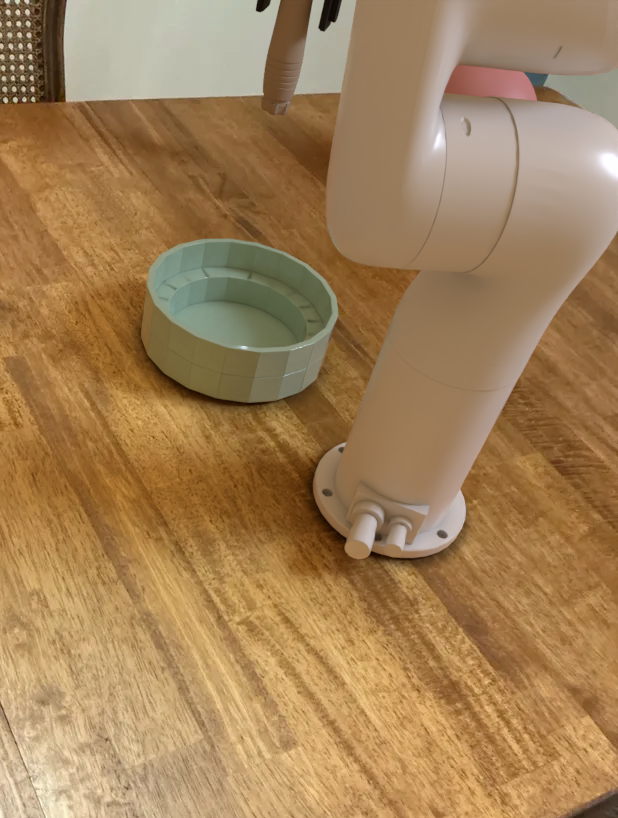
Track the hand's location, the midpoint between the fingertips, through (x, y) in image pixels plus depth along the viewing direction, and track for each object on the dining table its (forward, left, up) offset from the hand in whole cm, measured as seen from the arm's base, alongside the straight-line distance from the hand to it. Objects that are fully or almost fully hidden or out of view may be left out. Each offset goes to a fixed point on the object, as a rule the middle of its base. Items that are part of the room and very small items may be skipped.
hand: (293, 16), depth 94 cm
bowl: (-35, -8, -17) cm, 40 cm away
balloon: (+12, -24, -17) cm, 32 cm away
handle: (0, 0, -10) cm, 10 cm away
